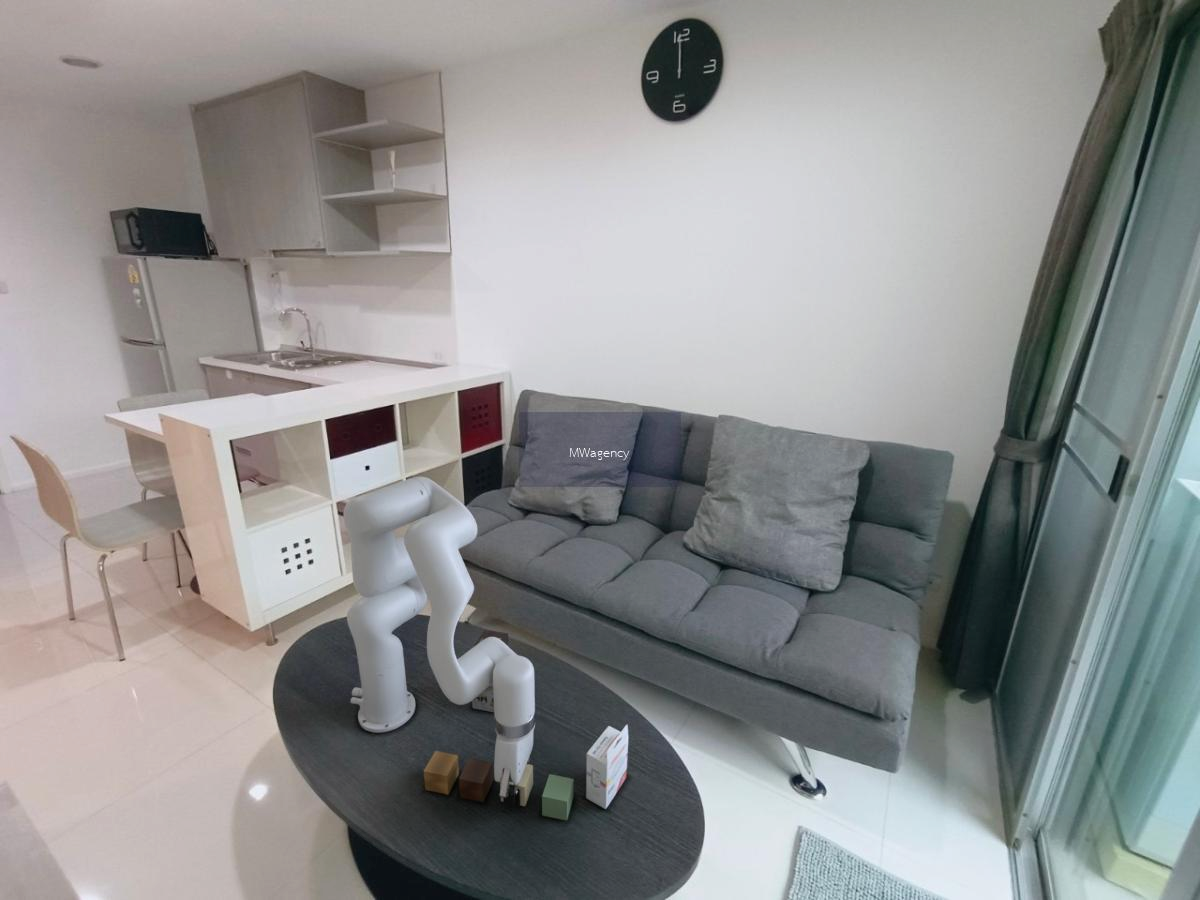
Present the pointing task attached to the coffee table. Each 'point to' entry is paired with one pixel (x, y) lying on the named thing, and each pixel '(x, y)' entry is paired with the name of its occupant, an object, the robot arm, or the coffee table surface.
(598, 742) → the ink cartridge box
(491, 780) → the walnut block
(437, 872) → the coffee table surface
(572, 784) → the sage block
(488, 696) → the coffee box
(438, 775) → the honey block
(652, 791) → the coffee table surface
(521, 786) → the cream block
